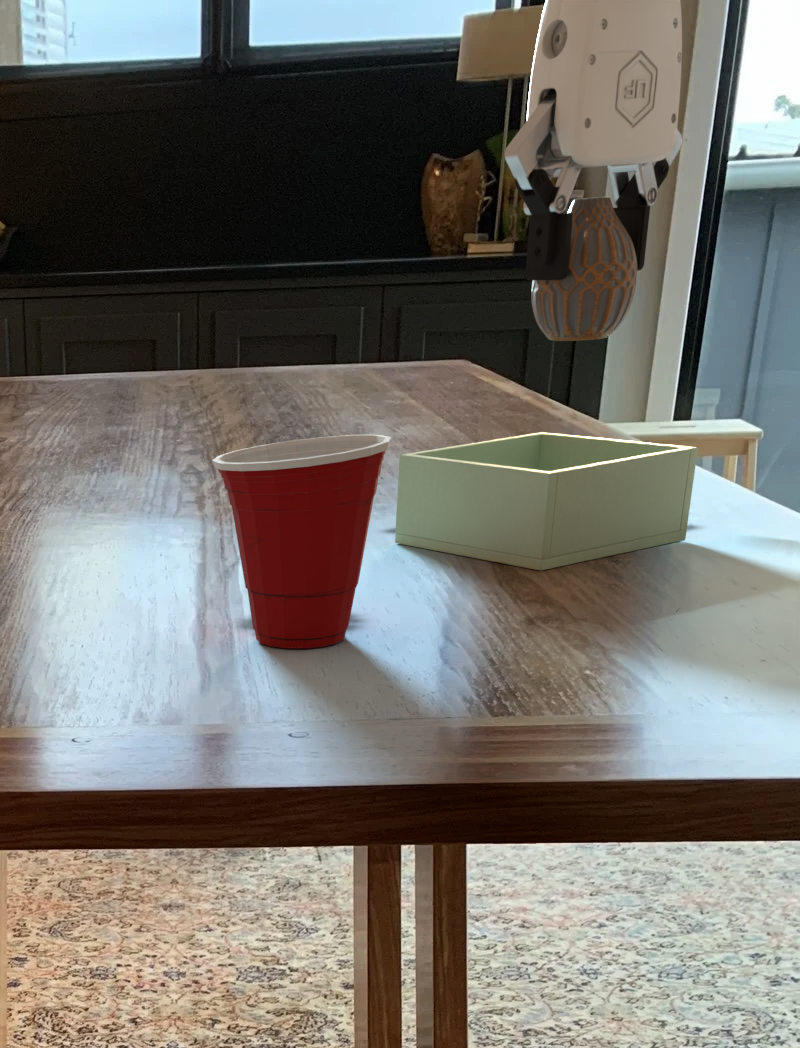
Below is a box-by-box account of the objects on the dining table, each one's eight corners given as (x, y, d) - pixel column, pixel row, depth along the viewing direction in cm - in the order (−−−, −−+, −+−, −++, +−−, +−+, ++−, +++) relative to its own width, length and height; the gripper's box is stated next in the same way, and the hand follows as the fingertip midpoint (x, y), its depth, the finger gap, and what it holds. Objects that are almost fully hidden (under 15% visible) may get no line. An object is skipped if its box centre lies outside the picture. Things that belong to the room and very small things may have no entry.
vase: (589, 332, 111) (601, 196, 107) (652, 335, 105) (668, 192, 101) (507, 340, 110) (517, 203, 105) (567, 345, 104) (580, 199, 100)
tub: (533, 516, 130) (541, 431, 127) (685, 540, 118) (698, 447, 115) (394, 543, 124) (399, 454, 120) (540, 571, 111) (549, 473, 108)
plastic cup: (247, 614, 105) (248, 429, 99) (402, 623, 100) (413, 429, 95) (187, 653, 97) (184, 454, 91) (353, 665, 92) (361, 455, 86)
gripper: (564, -46, 91) (538, 285, 99) (752, -43, 98) (713, 264, 106) (470, -25, 96) (453, 286, 105) (655, -24, 104) (625, 266, 112)
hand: (584, 273), depth 106 cm, fingers closed on vase, 6 cm apart
